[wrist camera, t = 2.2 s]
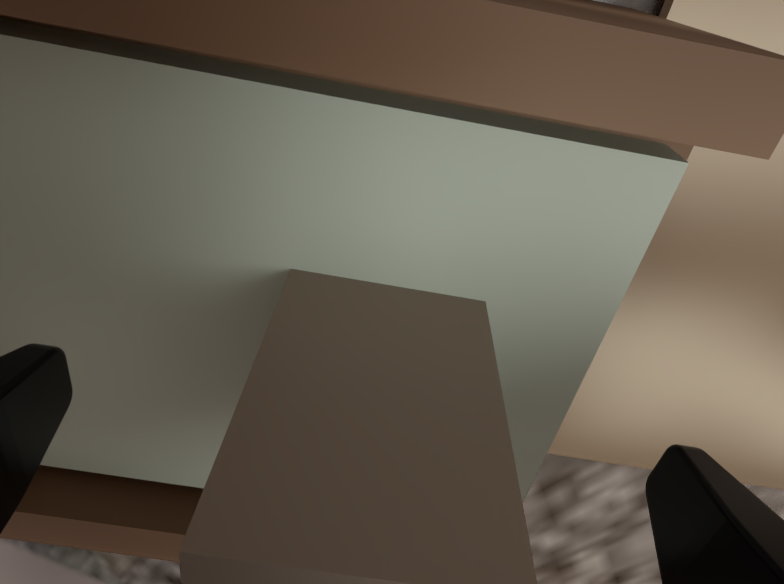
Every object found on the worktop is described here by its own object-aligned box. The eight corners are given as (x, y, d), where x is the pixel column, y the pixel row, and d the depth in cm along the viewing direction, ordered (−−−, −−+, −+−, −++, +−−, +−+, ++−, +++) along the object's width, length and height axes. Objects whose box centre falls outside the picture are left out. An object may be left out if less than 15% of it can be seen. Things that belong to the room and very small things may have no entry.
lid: (503, 500, 12) (551, 822, 8) (47, 432, 12) (-187, 739, 7) (665, 143, 8) (1004, 421, 3) (-63, 6, 7) (-869, 113, 3)
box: (485, 410, 16) (513, 607, 12) (83, 347, 16) (-68, 528, 11) (634, 8, 10) (821, 67, 6) (-2, -120, 10) (-418, -180, 5)
